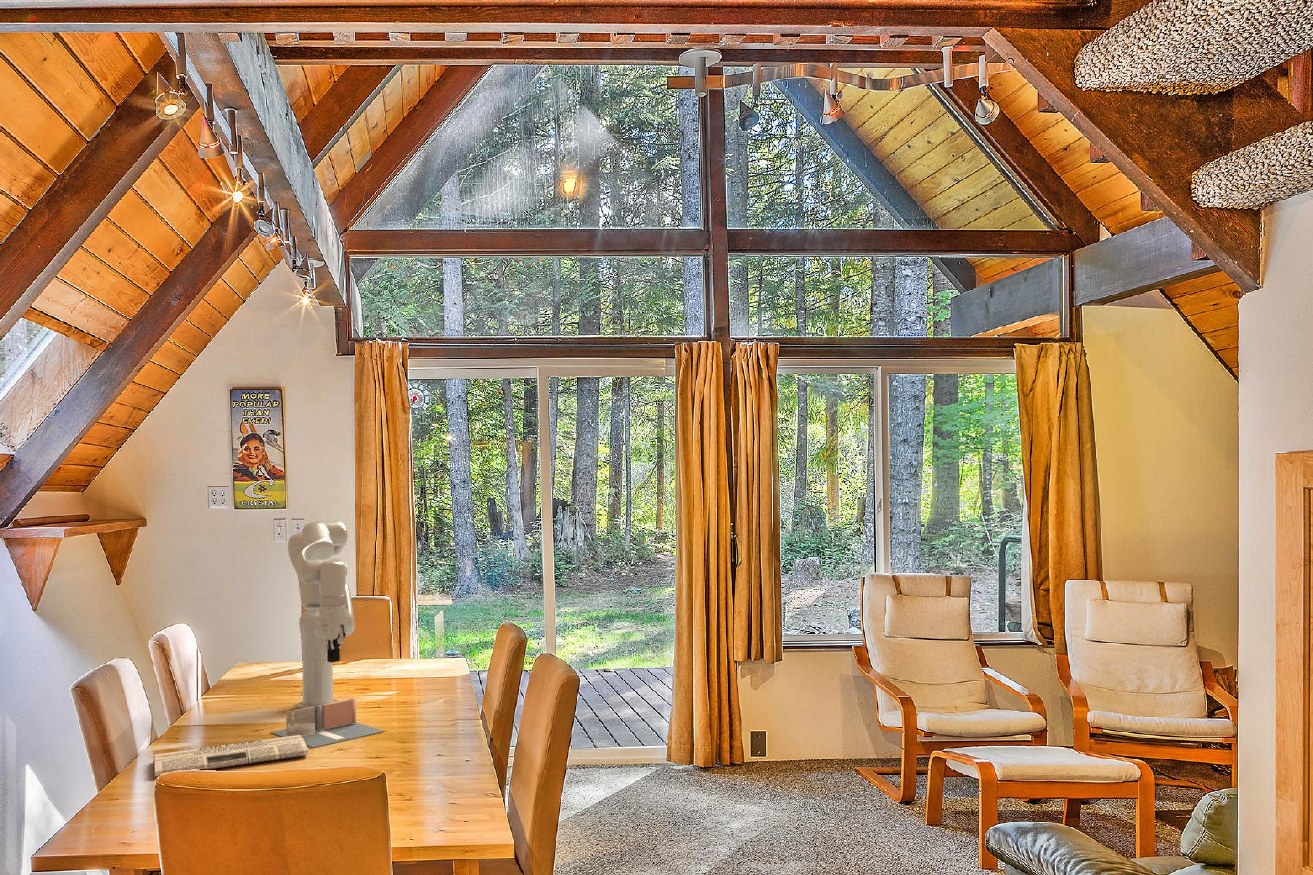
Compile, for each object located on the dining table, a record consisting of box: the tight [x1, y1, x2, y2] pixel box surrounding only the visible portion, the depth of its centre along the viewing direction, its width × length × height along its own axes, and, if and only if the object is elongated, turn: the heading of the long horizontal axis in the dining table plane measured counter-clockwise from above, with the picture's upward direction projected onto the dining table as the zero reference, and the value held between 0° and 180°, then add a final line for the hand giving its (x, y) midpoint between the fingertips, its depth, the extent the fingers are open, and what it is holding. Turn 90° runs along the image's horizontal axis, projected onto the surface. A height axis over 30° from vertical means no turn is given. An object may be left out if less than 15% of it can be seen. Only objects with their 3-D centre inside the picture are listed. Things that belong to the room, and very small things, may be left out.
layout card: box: [270, 721, 385, 749], centre depth 296 cm, size 26×24×1 cm
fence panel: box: [315, 698, 357, 731], centre depth 300 cm, size 13×2×7 cm, turn 136°
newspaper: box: [154, 735, 309, 778], centre depth 270 cm, size 37×19×3 cm, turn 117°
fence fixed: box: [285, 707, 315, 737], centre depth 292 cm, size 2×8×8 cm, turn 136°
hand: (333, 661), depth 306 cm, fingers closed
